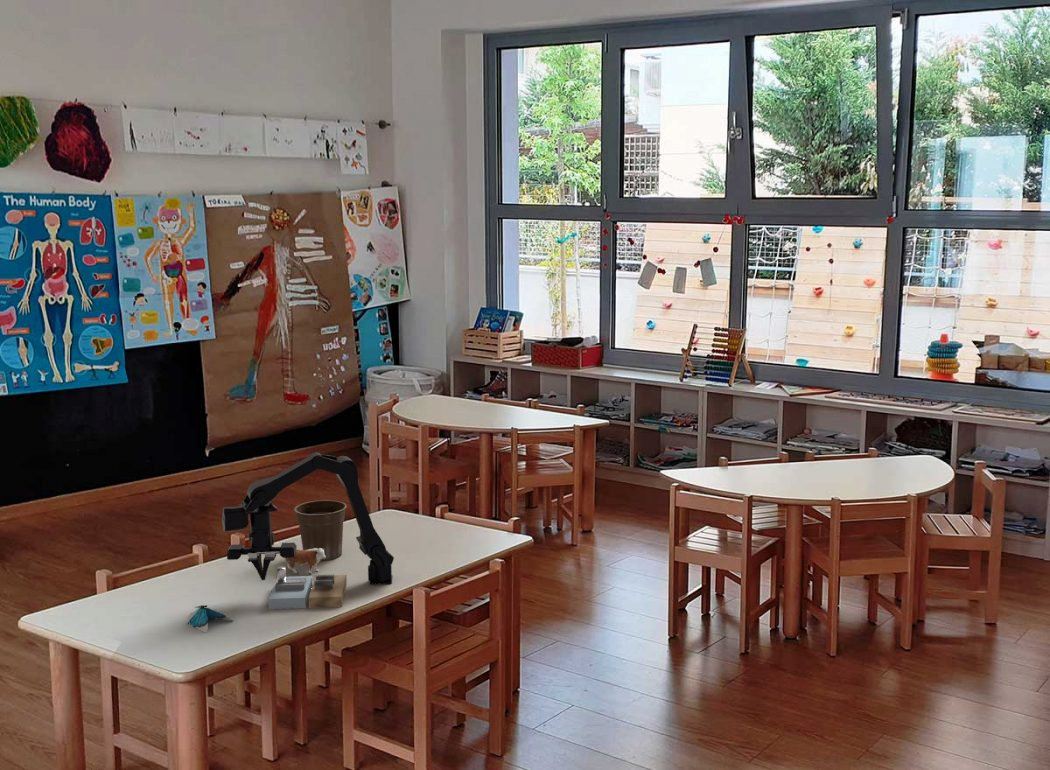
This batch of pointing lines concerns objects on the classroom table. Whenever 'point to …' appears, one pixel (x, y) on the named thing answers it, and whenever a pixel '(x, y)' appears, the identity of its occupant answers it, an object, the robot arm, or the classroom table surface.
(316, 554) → the bull figurine
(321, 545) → the plant pot
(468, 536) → the classroom table surface
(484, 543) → the classroom table surface
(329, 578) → the jamb
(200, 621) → the decorative butterfly
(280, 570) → the bolt
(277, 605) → the door panel
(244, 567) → the classroom table surface
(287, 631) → the classroom table surface
